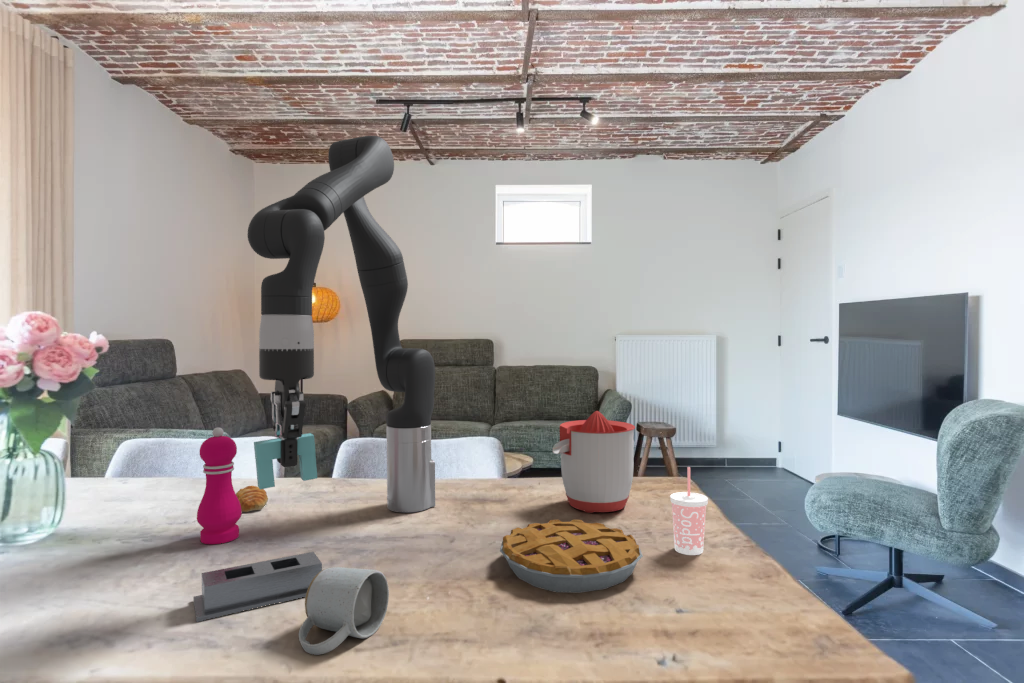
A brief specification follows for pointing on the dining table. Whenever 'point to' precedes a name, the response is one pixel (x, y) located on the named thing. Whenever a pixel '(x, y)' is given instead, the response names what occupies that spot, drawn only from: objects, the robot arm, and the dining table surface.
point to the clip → (273, 451)
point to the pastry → (252, 498)
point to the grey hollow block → (255, 585)
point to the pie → (571, 555)
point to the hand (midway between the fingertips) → (287, 463)
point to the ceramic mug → (344, 605)
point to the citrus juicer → (596, 462)
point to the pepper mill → (218, 491)
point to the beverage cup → (688, 520)
